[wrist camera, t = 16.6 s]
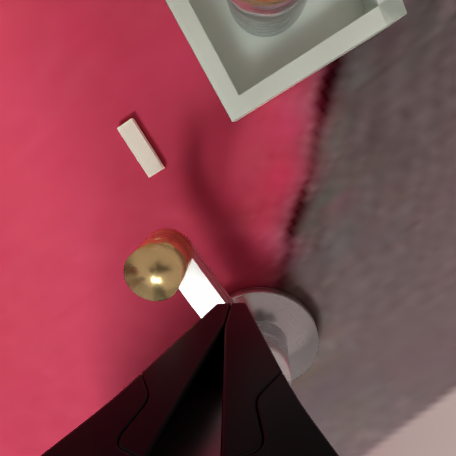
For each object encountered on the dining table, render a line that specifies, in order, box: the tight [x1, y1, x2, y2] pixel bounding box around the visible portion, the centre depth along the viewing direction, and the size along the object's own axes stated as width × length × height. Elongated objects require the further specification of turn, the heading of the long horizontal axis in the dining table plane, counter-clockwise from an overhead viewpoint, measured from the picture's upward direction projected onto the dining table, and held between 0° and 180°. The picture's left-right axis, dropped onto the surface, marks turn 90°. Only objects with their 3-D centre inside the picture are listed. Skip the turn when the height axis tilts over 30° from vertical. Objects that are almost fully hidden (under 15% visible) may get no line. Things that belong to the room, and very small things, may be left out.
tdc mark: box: [117, 118, 165, 177], centre depth 17 cm, size 3×1×1 cm, turn 31°
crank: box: [124, 229, 291, 386], centre depth 16 cm, size 11×3×5 cm, turn 33°
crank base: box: [229, 287, 319, 380], centre depth 20 cm, size 7×7×1 cm
